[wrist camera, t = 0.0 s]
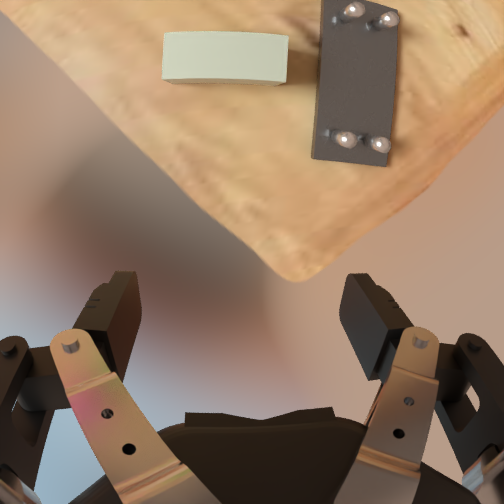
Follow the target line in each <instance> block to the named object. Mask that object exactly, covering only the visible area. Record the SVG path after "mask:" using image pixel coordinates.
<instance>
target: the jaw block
mask: <svg viewBox="0 0 504 504" xmlns="http://www.w3.org/2000/svg"><path fill="white" fill-rule="evenodd" d="M288 37H289V36H287V35H277V34H266V33H252V32H231V31H188V32H167V33H164V47H163V63H162V80H164V81H167V82H169V83H172V84H186V83H223V84H251V85H267V86H277V85H280V84H282V83H285V82H286V73H287V56H288Z"/></svg>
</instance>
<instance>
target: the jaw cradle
mask: <svg viewBox="0 0 504 504" xmlns="http://www.w3.org/2000/svg"><path fill="white" fill-rule="evenodd" d="M399 22H400V19H399V16H398V10H396V9H393V8H390V7H387V6H383V5H380V4H377V3H373V2H370V1H366V0H321V21H320V42H319V60H318V76H317V91H316V104H315V117H314V129H313V140H312V151H311V158H312V159H317V160H328V161H338V162H348V163H357V164H365V165H373V166H381V167H386V164H387V157H388V152H389V151H390V149H391V142H390V134H391V125H392V115H393V105H394V93H395V79H396V61H397V28H398V24H399Z"/></svg>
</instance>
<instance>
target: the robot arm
mask: <svg viewBox="0 0 504 504" xmlns="http://www.w3.org/2000/svg"><path fill="white" fill-rule="evenodd" d="M141 316H142V307H141V300H140V293H139V286H138V279H137V274H136V272H135V271H115V273H114V275H113V277H112V278H111V280H110V282H109V283H103V284H102V285H100V286H99V287H97V288H96V289H95V290H94V291H93V293H92V294H91V296H90V298H89V300H88V301H87V303H86V305H85V307H84V308H83V310H82V312H81V313H80V315H79V317H78V319H77V321H76V322H75V324H74V326H73V328H72V329H69V330H65V331H62V332H60V333H59V334H57V335H56V336H55V337H54V338H53V340H52V341H51V343H50V346H45V347H37V348H29V346H28V343H27V341H26V340H25V339H24V338H22V337H20V336H10V337H6V338H5V339H2V340H1V341H0V504H41V501H40V499H39V497H38V496H37V495H36V494H35V492H34V487H35V482H36V478H37V473H38V469H39V465H40V461H41V457H42V453H43V449H44V446H45V442H46V438H47V434H48V431H49V428H50V424H51V421H52V418H53V415H54V411H55V410H57V409H66V408H72V409H73V412H74V413H75V416H76V418H77V420H78V422H79V424H80V426H81V429H82V431H83V433H84V435H85V437H86V438H87V441H88V443H89V445H90V446H91V448H92V450H93V452H94V454H95V456H96V458H97V460H98V461H99V463H100V465H101V466H102V468H103V470H104V472H105V475H104V476H102V477H101V478H100V479H99V480H97V481H96V482H95V483H94V484H93V485H91V486H90V487H89V488H88V489H86V490H85V491H84V492H82V493H81V494H80V495H79V496H77V497H76V498H75V499H74V500H72V501H71V502H70V503H68V504H504V365H503V364H502V362H501V361H500V359H499V358H498V357H497V355H496V354H495V353H494V351H493V350H492V349H491V348H490V346H489V345H488V344H487V342H486V341H485V340H483V339H482V338H481V337H479V336H477V335H475V334H471V333H465V334H462V335H460V337H459V338H458V341H457V343H456V344H455V345H453V344H444V343H439V340H438V338H437V337H436V336H435V335H434V334H433V333H432V332H430V331H429V330H427V329H425V328H421V327H414V325H413V324H412V323H411V321H410V320H409V319H408V317H407V316H406V314H405V313H404V312H403V310H402V309H401V308H399V305H398V304H397V302H395V300H394V298H393V297H392V296H391V294H390V293H389V292H388V291H386V290H385V289H383V288H382V287H381V286H379V285H376V284H375V282H374V281H373V280H372V279H371V277H370V276H369V275H368V274H367V273H364V274H363V273H361V274H360V273H358V274H348V276H347V278H346V282H345V286H344V291H343V295H342V300H341V304H340V309H339V316H340V321H341V324H342V326H343V328H344V330H345V332H346V334H347V336H348V338H349V340H350V342H351V345H352V347H353V349H354V351H355V353H356V355H357V357H358V360H359V362H360V364H361V366H362V368H363V370H364V372H365V375H366V377H367V379H368V381H370V380H377V379H380V380H381V382H382V383H381V385H380V387H379V389H378V392H377V394H376V397H375V399H374V401H373V404H372V406H371V409H370V411H369V413H368V416H367V418H366V420H365V422H364V424H361V423H359V422H356V421H353V420H350V419H346V418H341V417H335V414H334V411H333V408H332V407H326V408H316V409H306V410H297V411H294V412H290V413H287V414H283V415H280V416H276V417H273V418H269V419H265V420H256V419H250V418H245V417H239V416H233V415H228V414H223V413H187V412H185V423H181V424H176V425H173V426H169V427H167V428H164V429H162V430H160V431H158V432H156V431H155V430H154V428H153V427H152V426H151V424H150V423H149V421H148V420H147V419H146V417H145V416H144V414H143V413H142V412H141V410H140V409H139V407H138V406H137V404H136V403H135V402H134V400H133V399H132V397H131V396H130V394H129V393H128V391H127V390H126V388H125V387H124V385H123V380H124V376H125V372H126V369H127V366H128V362H129V359H130V355H131V352H132V349H133V345H134V342H135V339H136V335H137V332H138V329H139V326H140V322H141ZM471 385H472V387H473V389H474V390H475V392H476V394H477V395H478V397H479V401H480V406H479V409H478V411H477V412H476V410H475V408H474V406H473V405H472V403H471V401H470V399H469V398H468V396H467V394H466V392H467V391H468V389H469V388H470V386H471ZM16 399H17V401H16ZM15 401H16V403H15ZM14 404H15V406H14ZM13 406H14V408H13ZM12 409H13V411H12ZM434 409H435V411H436V414H437V415H438V418H439V420H440V422H441V424H442V426H443V428H444V431H445V433H446V435H447V437H448V440H449V442H450V444H451V446H452V449H453V451H454V453H455V456H456V458H457V460H458V463H459V465H460V467H461V470H462V472H463V477H462V485H460V484H459V483H457V482H455V481H454V480H452V479H450V478H448V477H447V476H445V475H443V474H442V473H440V472H438V471H436V470H435V469H433V468H432V467H430V466H428V465H426V464H425V463H423V462H422V461H421V460H422V456H423V453H424V449H425V445H426V442H427V438H428V434H429V429H430V425H431V421H432V416H433V412H434Z"/></svg>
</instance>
